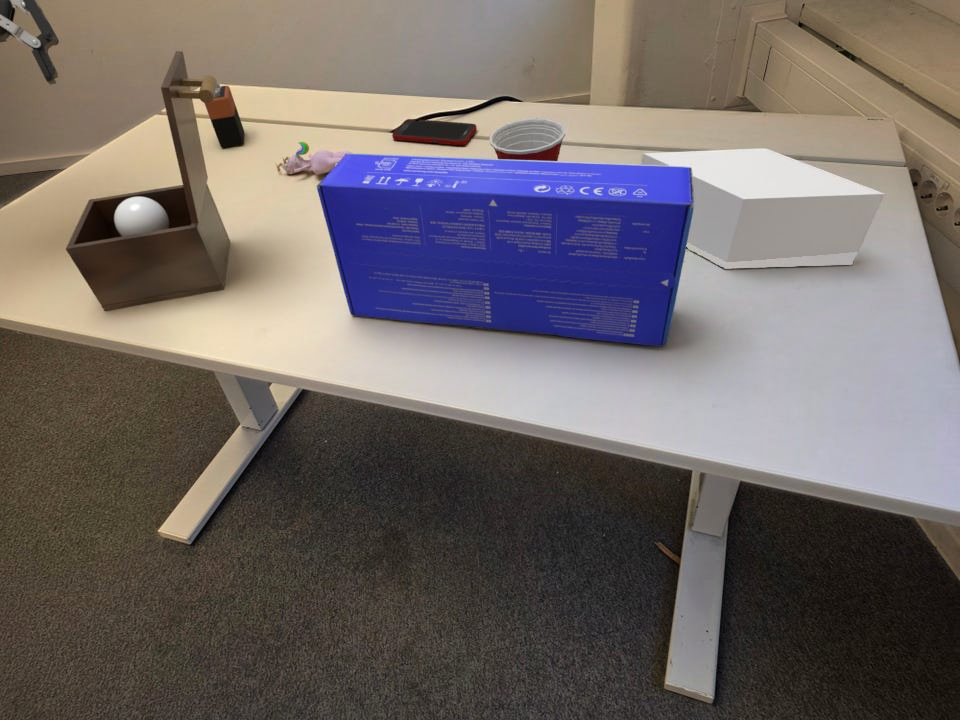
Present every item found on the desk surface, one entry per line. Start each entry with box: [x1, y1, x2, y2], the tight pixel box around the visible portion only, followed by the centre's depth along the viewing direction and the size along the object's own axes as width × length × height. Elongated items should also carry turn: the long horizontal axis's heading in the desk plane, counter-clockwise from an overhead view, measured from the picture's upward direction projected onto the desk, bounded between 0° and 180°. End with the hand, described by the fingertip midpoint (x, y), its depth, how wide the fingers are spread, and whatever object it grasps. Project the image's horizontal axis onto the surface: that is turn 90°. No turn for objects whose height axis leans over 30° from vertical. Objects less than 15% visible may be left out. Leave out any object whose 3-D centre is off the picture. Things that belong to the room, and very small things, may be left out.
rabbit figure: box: [275, 141, 354, 175], centre depth 104 cm, size 6×6×15 cm
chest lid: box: [160, 50, 218, 224], centre depth 75 cm, size 16×13×5 cm
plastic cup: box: [489, 118, 567, 161], centre depth 89 cm, size 11×11×12 cm
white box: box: [640, 147, 885, 262], centre depth 80 cm, size 14×29×10 cm, turn 62°
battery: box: [204, 83, 245, 149], centre depth 114 cm, size 4×7×10 cm, turn 15°
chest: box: [65, 183, 231, 312], centre depth 83 cm, size 16×13×10 cm
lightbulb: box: [114, 196, 169, 237], centre depth 81 cm, size 6×6×11 cm
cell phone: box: [391, 118, 477, 146], centre depth 114 cm, size 8×15×1 cm, turn 72°
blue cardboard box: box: [316, 153, 694, 347], centre depth 69 cm, size 39×8×18 cm, turn 77°
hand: (16, 91), depth 77 cm, fingers open, 8 cm apart
